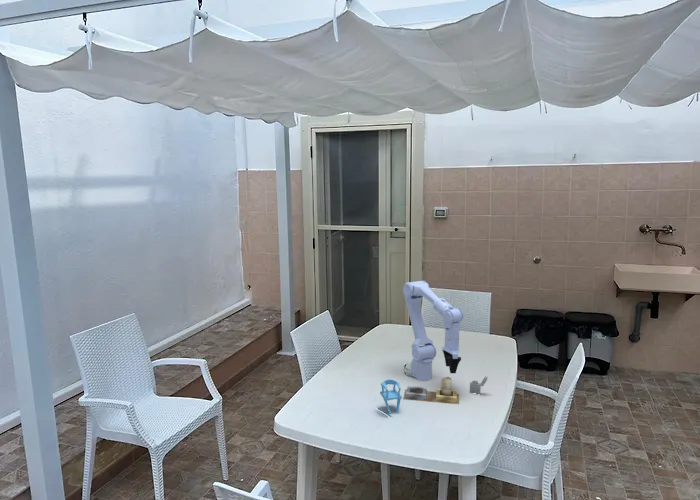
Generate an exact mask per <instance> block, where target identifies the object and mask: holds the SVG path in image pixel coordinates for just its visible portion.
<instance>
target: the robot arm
mask: <svg viewBox="0 0 700 500" xmlns="http://www.w3.org/2000/svg"><path fill="white" fill-rule="evenodd" d="M402 292H403V295H404V301H405V302H406V307H407V311H408V315H409V319H410V324H411V328H412V331H413V335H414V339H415V340H414V341H413V342H412V344H411V357H412V360H411V362H410V376H412V377H414V378H415V379H416V380H418V381H423V382H424V381H426V382H427V381H430V380H432V378H433V361H434V359H435V358H436V356H437V347H436V346H435V344H434V342H433V340H432V339H430V338H429V337H428V336H427V331H426V328H425V325H424V324H425V323H424V320H423V315H422V312H421V307H420V304H419V303H420V301H421V300H422V299H423V298H425V300H427V301H428V302H430V303H431V304H432V305H433V309H434V310H435V311H437V312H438V314H439V315H440V316H441V317H442V320H443V326H444V328H445V329H444V347H441V351H442V353H443V356H444V361H445V362H444V363H445V366H446V367H448V368H449V374H457V369H458V366H459V363H460V362H461V361H462V357H461V356H459V351H460V348H459V347H460V344H459V343H460V328H461V327H460V325H461V324H460V323H461V322H462V321H463V319H464V314H463V311H462V309H460V308H459V307H453V305H452V304H450V303H449V302H448V301H447V300H446V299H445V298H443V297H440V298H439V297H438V296H437V294H435V292H433V290H432V289H431V288H430V285H429V283H427V282H426V280H424V279H423V280H417V281H411V282H410V281H409V282H408V281H407V282H405V283H404V285H403V287H402Z"/></svg>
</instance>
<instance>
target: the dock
mask: <svg viewBox="0 0 700 500" xmlns="http://www.w3.org/2000/svg"><path fill="white" fill-rule="evenodd" d="M402 400H406V401H407V400H408V401H417V402H429V403H441V404H451V405H452V404H453V405H460V394H459V393H458V392H457V389H451V396H444V395H441V388H436V391H432V390H431V391H430V390H428V387H425V386H415V385H412V386H411V385H407V388H406V389H404V394H403V397H402Z"/></svg>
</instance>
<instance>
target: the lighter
mask: <svg viewBox="0 0 700 500" xmlns="http://www.w3.org/2000/svg"><path fill="white" fill-rule="evenodd" d="M488 379H489V377H488V376H486V375H485V376H484V378H483V379H482V381H481V382H480V383H479V381H478V380H472V381H470V382H469V394H473V393H476V394H475V395H478V394H480V395H481V390H482V389H481V387H484V385H485V384H486V383H487V381H488Z"/></svg>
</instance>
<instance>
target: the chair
mask: <svg viewBox="0 0 700 500" xmlns="http://www.w3.org/2000/svg"><path fill="white" fill-rule="evenodd" d="M387 385H392V389H391V390H389V389H388V386H387ZM380 386H381V391H379V394H380V396H381V397H382V398H383V402H384V404H385V406H386V409H387V412H388V413H387V412H386V411H383V410H382V409H381V408H380V407H377V409H378V410H379V411H380V412H382V413H383V414H386V415H387V416H389V417H390V418H392V417H393V416H392V414H393V413H392V411H391V408H390V406H389V403H388V401H392V400H397V401H396V409H395V414H399V410H400V405H401V404H400V403H401V400H403V397H402V395H401V394H400V393H401V389H402V388H401V385H400V382H399V381H396V380H393V379H386V380H383V381H382V382H381V383H380ZM396 386H397V388H398V391H397V390H396Z"/></svg>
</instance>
